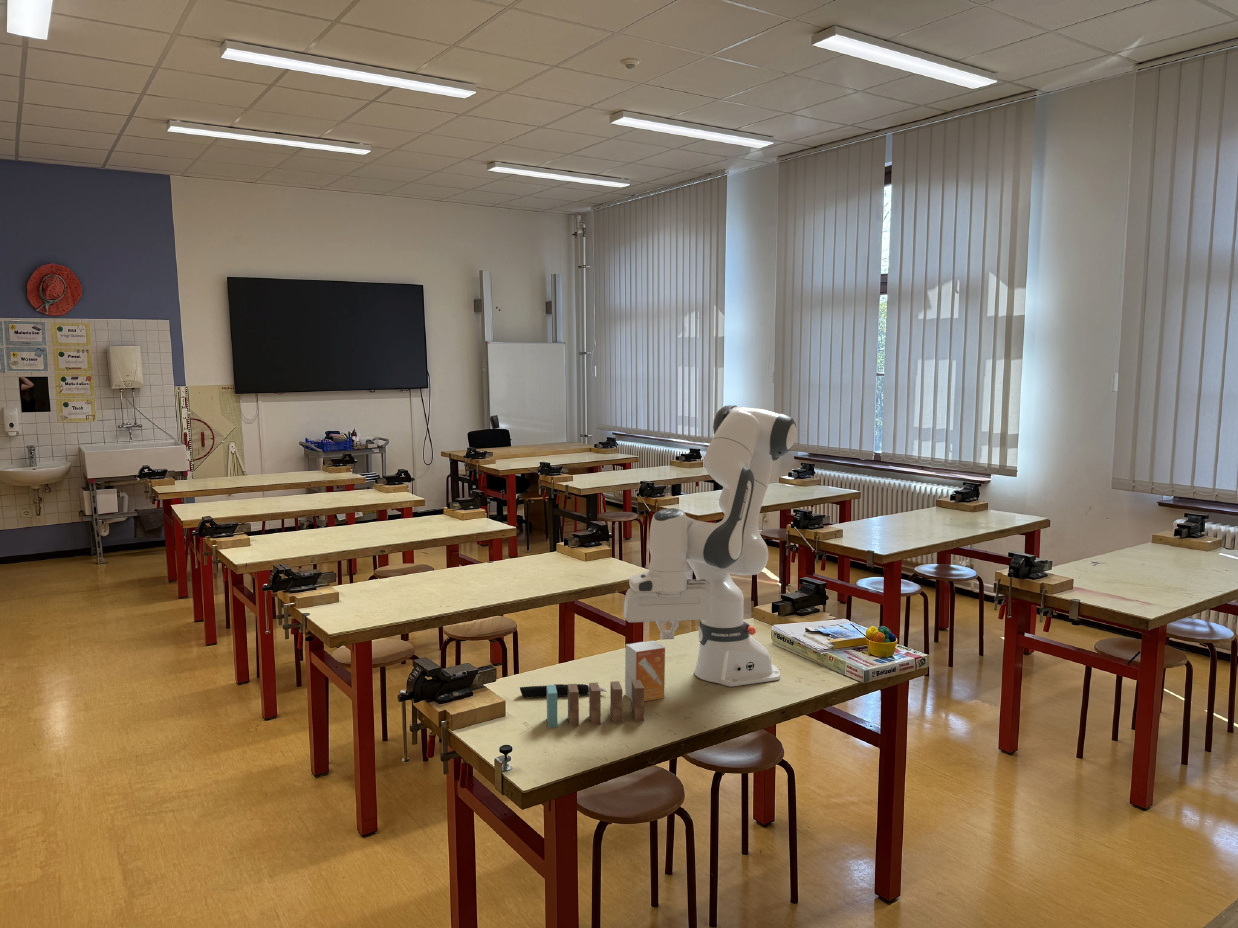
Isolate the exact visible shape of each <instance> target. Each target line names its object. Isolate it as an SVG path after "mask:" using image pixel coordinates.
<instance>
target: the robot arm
mask: <svg viewBox="0 0 1238 928" xmlns="http://www.w3.org/2000/svg"><path fill="white" fill-rule="evenodd" d="M712 430H713V431H712V432H713V436H712V439H711V440H710V442H709V444H708V446H707V449H706V452H705V455H704V460H703V461H704V462H703V463H704V467H705V470H706V473H708V475H709V476H710V477H711V478H712V479H713V480H714V481H715V482H716V483H718V484H719V485H720V486H721V487H722V489H721V490H722V491H721V492H720V495H719V498H718V505H719V507H720V510H721V512H722V513H723V514H724V516H723V519H722V520H721V521H719V522H718V521H717V522H710V521H709V522H707V521H701V520H698V519H694V518H691V517H689V516H687V515H686V512H685V511H684V510H682V509H680V508H663V509H661V510H658V511H657V512H655V513H653V515H652V518H651V521H650V528H649V538H648V539H649V542H648V545H649V547H648V549H649V553H650V562H649V565H648V570H647V571H644V572H642V573H641V572H640V573H638V574H636V575H632V576H630V578H629V579H628V584H629V586H630V588H628V590H627V591H626V592H625V597H624V603H623V618H624V619H625V620H626V621H627V622H628V623H646V622H647V623H651V622H655V625H656V626H657V628H658V630H659V631H660V635H659V636H660V639H661V640H663V641H664V640H674V639H675V632H676V631H677V629H678V628H679V626H680V621H698V620H700V621H699V624H698V625H699V627H698V641H699V650H698V657H697V662H696V664H695V665H696V666H695V669H694V671H693V673H694V675H695V676H696V677H697V678H699V679H701V680H703V681H707V682H710V683H715V684H716V683H717V684H719V685H723V686H726V687H738V686H743V685H744V686H745V685H753V684H760V683H764V682H765V683H766V682H773V681H779V680H781V672H780V669H779V668H778V667H777V666H776V665H775V664H773V663H772V658H771V655H770V652H769V651H768V649H767V648H766V647H765V646H764V645H763V644H761V643H760V641H758V640H756V639H755V638H754V637H753V635H756V633H757V629H756V628H755V627H754V626H753V625H751V624H750V623H748V622H746V621H744V600H745V599H744V594H743V591H742V590H741V588H740V587H739V586H737V585H736V583H735V582H734V580H733V578H732V577H731V574H733V575H738V576H753V575H754V576H756V575H758V574H760V573H761V572H762V571H763V570H764V569H765V567H766V566H767V563H768V561H769V549H768V545H767V544H766V542H765V540H764V539H763V537H762V536H761V532H760V527H759V518H760V512H761V509H762V506H763V502H764V499H765V496H766V492H767V489H768V487H769V485H770V480H771V477H772V472H773V471H772V470H773V464H774V461H778V459H780V458H781V457H782V456H784V455H787V454H788V452H789V451H790V450H792V449H793V446H794V444H795V441H796V438H797V424H796V421H795V419H794V418H792V417H791V416H790V415H786V414H784V413H777V412H774V411H771V410H767V409H763V408H754V407H745V406H738V405H735V404H734V405H730V404H729V405H724V406H722V407H721V408H720V409H718V410H717V413H716V414H715V416H714V420H713V426H712ZM688 564H689V566H690V567H691V569H692V572H693V573H694V575H695V578H693V579H691V578H690V579H688ZM664 622H671V624H672V625H671V627H670V629H663V627H662V626H664Z"/></svg>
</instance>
